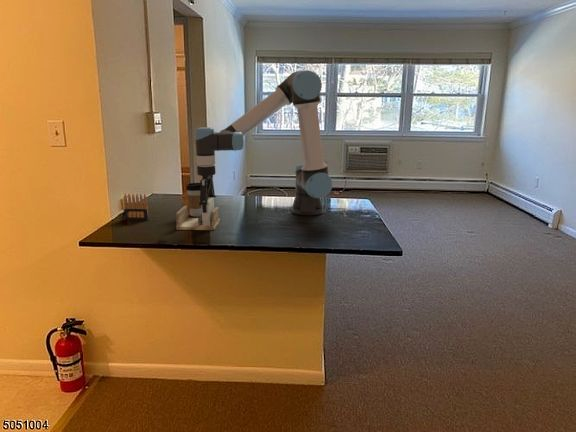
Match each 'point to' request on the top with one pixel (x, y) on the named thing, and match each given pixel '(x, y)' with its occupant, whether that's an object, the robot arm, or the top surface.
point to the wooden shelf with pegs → (195, 220)
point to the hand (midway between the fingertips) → (208, 216)
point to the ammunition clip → (136, 208)
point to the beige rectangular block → (210, 209)
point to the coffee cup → (194, 198)
